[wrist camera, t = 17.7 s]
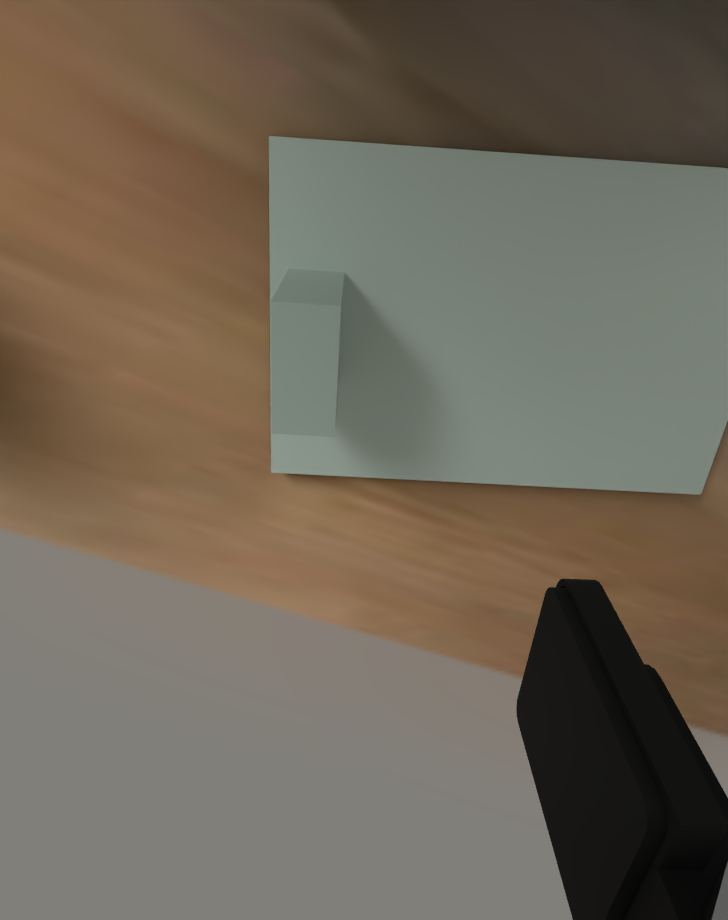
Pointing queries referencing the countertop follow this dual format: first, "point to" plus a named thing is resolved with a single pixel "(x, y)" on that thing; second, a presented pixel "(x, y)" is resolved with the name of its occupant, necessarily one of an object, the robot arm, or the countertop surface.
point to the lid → (496, 316)
